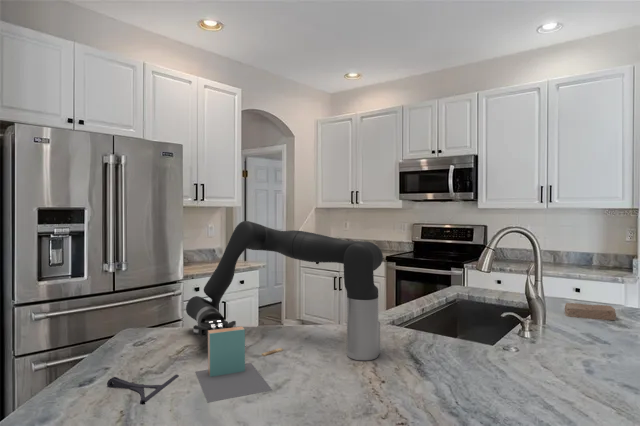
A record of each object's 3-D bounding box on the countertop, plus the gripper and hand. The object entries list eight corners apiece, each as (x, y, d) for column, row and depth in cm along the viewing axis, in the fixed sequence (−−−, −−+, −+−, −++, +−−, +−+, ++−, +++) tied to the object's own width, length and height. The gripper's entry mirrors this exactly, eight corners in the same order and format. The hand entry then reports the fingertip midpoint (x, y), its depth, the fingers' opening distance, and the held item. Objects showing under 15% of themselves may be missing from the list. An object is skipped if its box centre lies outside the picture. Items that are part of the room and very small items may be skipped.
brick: (566, 317, 168) (566, 305, 167) (564, 312, 175) (564, 301, 175) (616, 322, 161) (616, 310, 161) (611, 317, 168) (612, 305, 168)
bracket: (127, 376, 111) (127, 366, 111) (179, 381, 108) (179, 370, 108) (87, 402, 96) (87, 390, 96) (146, 408, 94) (146, 395, 94)
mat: (251, 364, 117) (251, 362, 117) (272, 392, 100) (272, 390, 100) (195, 373, 111) (195, 371, 111) (207, 405, 93) (207, 402, 93)
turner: (278, 350, 129) (278, 347, 129) (285, 353, 126) (285, 349, 126) (242, 361, 119) (242, 358, 119) (248, 364, 117) (248, 361, 117)
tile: (242, 367, 114) (242, 326, 114) (244, 371, 111) (244, 329, 111) (208, 372, 110) (207, 330, 110) (210, 376, 107) (209, 333, 107)
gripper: (188, 310, 130) (196, 325, 114) (230, 306, 136) (244, 319, 120) (188, 335, 130) (196, 353, 114) (231, 329, 136) (244, 346, 120)
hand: (220, 336), depth 117 cm, fingers closed
